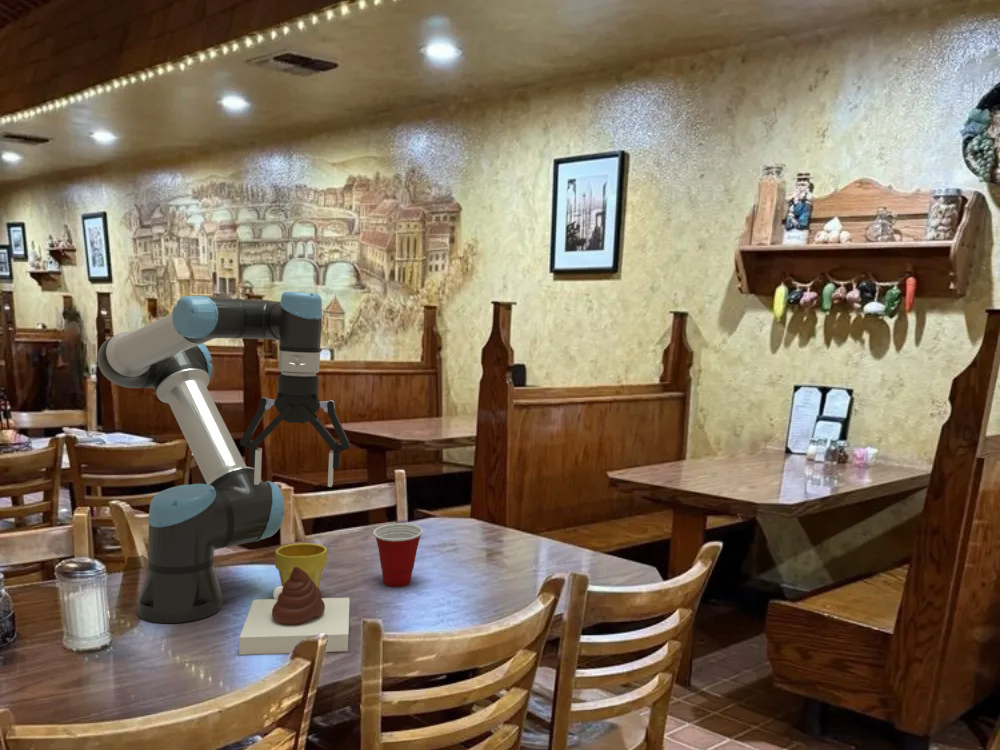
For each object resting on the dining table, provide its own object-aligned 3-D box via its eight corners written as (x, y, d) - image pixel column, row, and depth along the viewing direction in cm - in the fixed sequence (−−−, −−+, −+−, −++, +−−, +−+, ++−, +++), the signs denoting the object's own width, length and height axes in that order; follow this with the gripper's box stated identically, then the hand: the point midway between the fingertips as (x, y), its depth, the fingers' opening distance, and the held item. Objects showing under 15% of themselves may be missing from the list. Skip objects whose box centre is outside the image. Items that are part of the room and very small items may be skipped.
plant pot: (272, 589, 162) (273, 543, 161) (322, 585, 165) (323, 541, 165) (276, 607, 152) (277, 558, 152) (329, 602, 156) (330, 555, 155)
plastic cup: (361, 585, 167) (362, 530, 166) (390, 572, 177) (392, 520, 176) (402, 594, 162) (404, 538, 161) (430, 581, 172) (432, 528, 171)
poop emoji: (293, 630, 133) (295, 577, 133) (259, 619, 138) (261, 567, 137) (334, 613, 142) (336, 563, 141) (301, 603, 146) (302, 555, 146)
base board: (239, 654, 130) (239, 637, 130) (253, 614, 148) (253, 599, 147) (347, 651, 133) (348, 634, 133) (349, 612, 151) (349, 597, 151)
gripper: (226, 371, 141) (222, 486, 142) (364, 378, 144) (359, 490, 146) (234, 368, 148) (230, 477, 150) (366, 375, 151) (360, 481, 153)
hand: (294, 484), depth 148 cm, fingers open, 13 cm apart
